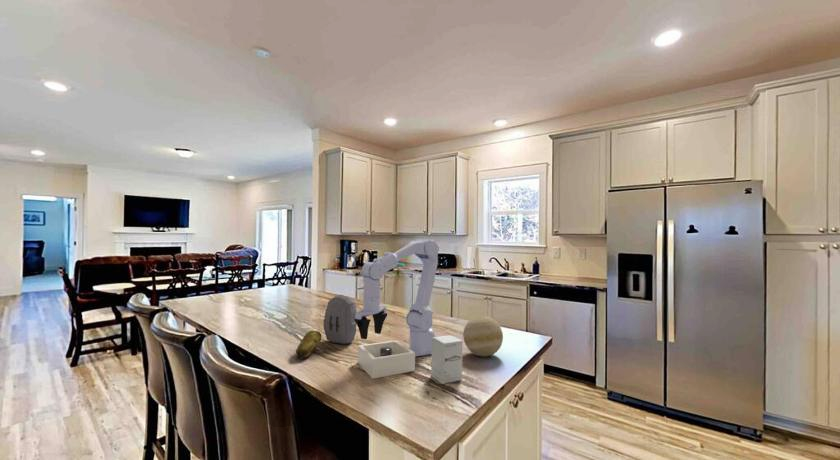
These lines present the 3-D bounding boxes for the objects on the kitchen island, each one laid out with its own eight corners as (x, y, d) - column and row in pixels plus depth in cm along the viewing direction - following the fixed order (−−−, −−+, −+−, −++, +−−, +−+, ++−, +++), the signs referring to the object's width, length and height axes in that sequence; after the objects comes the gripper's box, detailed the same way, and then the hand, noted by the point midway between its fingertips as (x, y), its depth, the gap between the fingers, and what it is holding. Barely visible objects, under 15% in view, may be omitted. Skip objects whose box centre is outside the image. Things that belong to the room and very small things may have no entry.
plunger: (394, 355, 125) (394, 342, 125) (407, 366, 115) (407, 351, 115) (364, 360, 119) (365, 346, 119) (375, 372, 109) (376, 356, 110)
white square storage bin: (396, 356, 127) (397, 340, 127) (414, 370, 114) (415, 352, 114) (357, 362, 120) (358, 345, 120) (372, 378, 107) (372, 359, 107)
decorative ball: (483, 365, 120) (484, 323, 120) (454, 353, 132) (455, 314, 132) (510, 357, 129) (511, 317, 129) (481, 346, 141) (482, 310, 141)
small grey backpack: (359, 342, 142) (361, 295, 143) (347, 348, 135) (349, 298, 135) (330, 337, 148) (332, 291, 149) (317, 343, 141) (319, 294, 141)
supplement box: (442, 385, 103) (443, 343, 104) (430, 375, 110) (431, 336, 110) (462, 380, 107) (463, 340, 107) (449, 372, 113) (450, 334, 114)
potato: (286, 358, 123) (286, 335, 123) (311, 347, 135) (312, 327, 135) (303, 362, 119) (304, 339, 120) (328, 351, 131) (328, 330, 131)
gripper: (375, 292, 127) (374, 329, 126) (348, 298, 114) (347, 339, 114) (391, 294, 123) (390, 332, 123) (364, 301, 110) (364, 342, 110)
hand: (371, 335), depth 118 cm, fingers open, 7 cm apart
